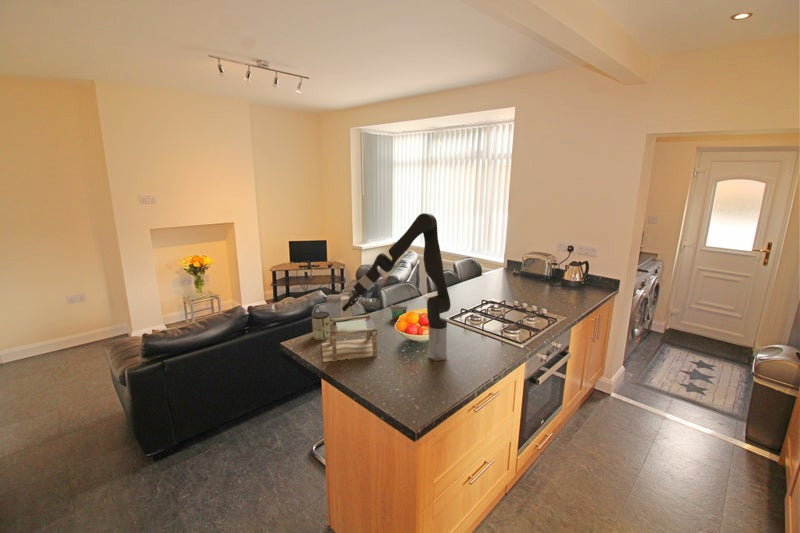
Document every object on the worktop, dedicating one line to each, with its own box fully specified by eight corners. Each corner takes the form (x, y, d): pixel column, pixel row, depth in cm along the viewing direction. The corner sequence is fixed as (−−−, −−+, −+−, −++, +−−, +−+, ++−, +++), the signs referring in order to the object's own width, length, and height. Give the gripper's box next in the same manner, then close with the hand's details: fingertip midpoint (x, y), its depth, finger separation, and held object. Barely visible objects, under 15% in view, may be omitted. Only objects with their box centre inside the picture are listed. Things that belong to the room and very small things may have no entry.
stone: (351, 316, 194) (350, 298, 192) (342, 317, 193) (341, 299, 191) (350, 313, 199) (349, 296, 197) (341, 314, 198) (340, 296, 196)
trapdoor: (377, 335, 192) (377, 328, 192) (338, 341, 188) (338, 333, 187) (372, 323, 210) (371, 317, 209) (336, 328, 205) (335, 321, 204)
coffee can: (316, 332, 224) (314, 311, 221) (332, 333, 223) (331, 311, 220) (310, 339, 214) (309, 317, 211) (327, 340, 213) (326, 317, 210)
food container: (386, 320, 243) (386, 306, 241) (391, 317, 249) (391, 303, 247) (403, 323, 238) (403, 308, 236) (407, 320, 243) (407, 306, 241)
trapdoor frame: (377, 355, 192) (376, 329, 189) (323, 362, 186) (321, 335, 182) (370, 338, 214) (369, 314, 211) (321, 344, 207) (320, 319, 204)
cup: (443, 319, 243) (444, 297, 240) (425, 319, 243) (425, 298, 240) (442, 313, 255) (442, 292, 252) (424, 313, 255) (424, 292, 252)
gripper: (357, 277, 200) (336, 300, 200) (360, 284, 187) (338, 308, 187) (367, 286, 203) (346, 308, 203) (371, 293, 189) (349, 317, 189)
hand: (342, 308), depth 195 cm, fingers closed on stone, 5 cm apart
